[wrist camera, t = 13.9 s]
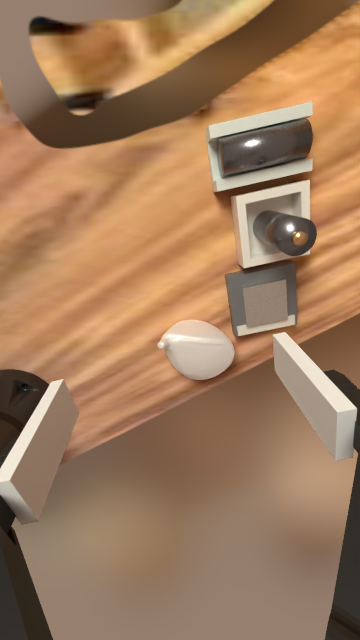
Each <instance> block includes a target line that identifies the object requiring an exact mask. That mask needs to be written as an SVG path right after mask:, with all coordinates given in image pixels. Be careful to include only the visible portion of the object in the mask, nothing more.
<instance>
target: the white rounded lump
mask: <svg viewBox="0 0 360 640" xmlns="http://www.w3.org/2000/svg"><path fill="white" fill-rule="evenodd" d="M157 346H158V348H160V349H163V348H165V352H166V354H167V357H168V359H169V361H170V362H171V364H172V365H173V366H174V367H175V368H176V369H177V370H178V371H179V372H180V373H181V374H183V375H184V376H186V377H188V378H190V379H195V380H205V379H210V378H212V377H215V376H217V375H219V374H221V373H222V372H223V371H225V370H226V369H227V368H228V367H229V366H230V365H231V363H232V361H233V359H234V355H235V350H234V347H233V344H232V342H231V340H230V339H229V338H228V337H227V336H226V335H225V334H224V333H223V332H222V331H221V330H219V329H218V328H216V327H215V326H213V325H211V324H209V323H207V322H204V321H199V320H184V321H180V322H178V323H176V324H175V325H173V326H172V327H171V328H170V329H169V330H168V331H167V332H166V333H165V334H164V335H163V336H162V338H161V341H160V342H159V343H158V344H157Z"/></svg>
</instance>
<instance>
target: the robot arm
mask: <svg viewBox="0 0 360 640" xmlns="http://www.w3.org/2000/svg"><path fill="white" fill-rule="evenodd" d="M273 347H274V360H275V372H276V373H277V375H278V376H279V378H280V379H281V381H282V382H283V384H284V385H285V387H286V388H287V389H288V391H289V393H290V394H291V396H292V397H293V399H294V400H295V402H296V403H297V405H298V406H299V408H300V409H301V411H302V412H303V413H304V415H305V417H306V418H307V420H308V421H309V422H310V424H311V426H312V427H313V429H314V430H315V432H316V433H317V435H318V436H319V438H320V439H321V441H322V442H323V443H324V445H325V446H326V448H327V450H328V451H329V452H330V454H331V455H332V457H333V458H334V460H335V461H338V460H343V459H348V458H353V451H354V449H355V450H356V451H357V452H358V458H357V464H356V470H355V476H354V482H353V487H352V493H351V499H350V505H349V511H348V516H347V522H346V528H345V534H344V540H343V545H342V551H341V557H340V563H339V569H338V575H337V580H336V586H335V593H334V598H333V604H332V609H331V613H330V617H329V621H328V626H327V631H326V637H325V640H360V390H359V389H357V387H356V386H355V385H354V384H353V383H351V381H350V380H349V379H348V378H347V377H346V376H345V375H343V374H341V373H339V372H337V371H335V370H330V371H325V372H322V371H321V370H320V369H319V368H318V366H317V365H316V364H314V362H313V361H312V360H311V359H310V358H309V357H308V356H307V355H306V354H305V353H304V352H303V351H302V349H301V348H300V347H299V346H298V345H297V344H296V343H295V342H294V341H293V340H292V339H291V338H290V337H289V336H288V335H287V334H286V333H285V332H283V333H278V334H273ZM78 415H79V411H78V409H77V407H76V405H75V403H74V401H73V398H72V396H71V394H70V392H69V390H68V388H67V386H66V383H65V381H64V379H62V380H58V381H53V382H51V384H50V385H48V384H47V383H46V382H45V381H43V380H42V379H41V378H39V377H37V376H35V375H33V374H31V373H28V372H25V371H20V370H0V640H53V638H52V635H51V632H50V630H49V627H48V624H47V621H46V618H45V616H44V613H43V610H42V607H41V604H40V602H39V599H38V596H37V593H36V590H35V587H34V584H33V582H32V579H31V576H30V573H29V570H28V567H27V564H26V562H25V559H24V556H23V553H22V550H21V547H20V544H19V542H18V539H17V536H16V533H15V530H14V529H13V528H12V527H11V525H12V523H13V521H14V519H15V517H16V518H17V519H18V521H19V522H20V523H21V524H27V523H32V522H36V521H38V520H39V518H40V516H41V513H42V510H43V508H44V505H45V502H46V500H47V497H48V494H49V491H50V489H51V486H52V484H53V481H54V478H55V476H56V473H57V471H58V468H59V465H60V463H61V460H62V457H63V455H64V452H65V449H66V447H67V444H68V441H69V439H70V436H71V433H72V431H73V428H74V425H75V423H76V420H77V417H78Z"/></svg>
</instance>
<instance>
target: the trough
mask: <svg viewBox="0 0 360 640" xmlns="http://www.w3.org/2000/svg"><path fill="white" fill-rule="evenodd" d="M310 116H312V102H308V103H303V104H299V105H295V106H291V107H286V108H282V109H278V110H274V111H269V112H265V113H261V114H256V115H252V116H248V117H244V118H239V119H235V120H231V121H226V122H222V123H218V124H214V125H209V126H208V128H207V129H206V131H205V135H206V143H207V150H208V157H209V164H210V171H211V179H212V186H213V192H218V191H222V190H227V189H231V188H236V187H240V186H245V185H249V184H254V183H258V182H262V181H267V180H271V179H276V178H280V177H285V176H289V175H294V174H298V173H302V172H307V171H311V170H312V159H308V160H304V159H301V160H296V161H292V162H287V163H283V164H278V165H274V166H270V167H265V168H261V169H256V170H252V171H248V172H243V173H239V174H234V175H230V176H226V177H222V176H221V174H220V171H219V167H218V160H217V140H218V139H220V138H224V137H229V136H233V135H237V134H241V133H246V132H250V131H254V130H259V129H263V128H267V127H272V126H276V125H280V124H285V123H289V122H293V121H298V120H302V119H306V118H308V117H310Z"/></svg>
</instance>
